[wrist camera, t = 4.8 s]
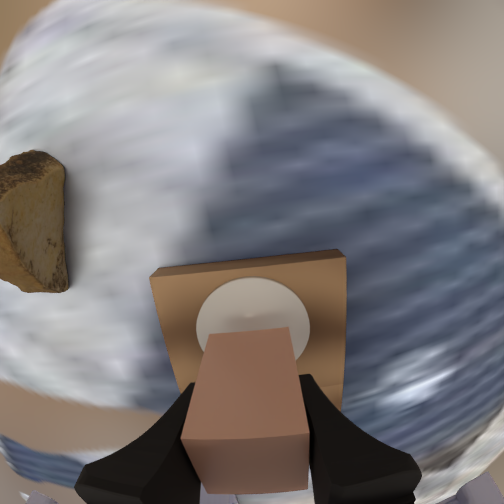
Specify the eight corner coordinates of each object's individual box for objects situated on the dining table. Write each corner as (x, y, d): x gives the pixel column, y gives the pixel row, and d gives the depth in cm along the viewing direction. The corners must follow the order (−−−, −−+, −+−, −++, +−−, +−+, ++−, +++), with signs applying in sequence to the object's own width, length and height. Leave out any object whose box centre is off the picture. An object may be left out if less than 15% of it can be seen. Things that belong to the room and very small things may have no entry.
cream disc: (309, 365, 19) (310, 371, 18) (208, 374, 19) (207, 379, 19) (305, 269, 17) (307, 273, 17) (188, 281, 18) (186, 285, 17)
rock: (81, 331, 18) (111, 211, 15) (-24, 343, 12) (-35, 202, 8) (49, 245, 24) (73, 147, 20) (-28, 245, 17) (-17, 135, 13)
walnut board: (333, 426, 23) (337, 441, 21) (205, 437, 24) (202, 452, 22) (337, 249, 19) (345, 257, 17) (158, 267, 19) (148, 277, 18)
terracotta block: (292, 386, 15) (307, 489, 9) (222, 392, 15) (207, 493, 9) (288, 326, 14) (309, 432, 8) (209, 333, 14) (180, 438, 8)
